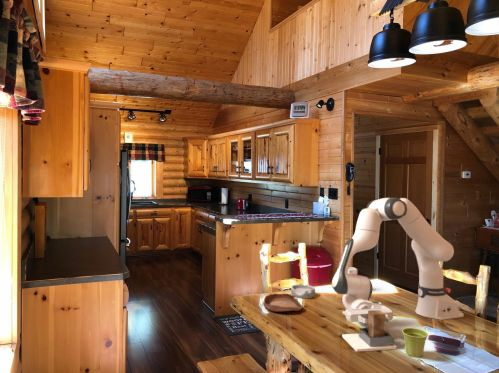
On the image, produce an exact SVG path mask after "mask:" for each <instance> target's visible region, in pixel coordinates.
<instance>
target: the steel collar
mask: <svg viewBox="0 0 499 373" xmlns="http://www.w3.org/2000/svg"><path fill="white" fill-rule="evenodd" d="M358 334H359V337H360V338H361V339H362V340H363V341H364V342H365V343H366V344H368V345H369V346H370V347H376V346H391V345H395V336H394V335H393V334H392V333H391V332H389V331H387V330H386V329H385V336H378V337H371V336H370V335H369V334H368V327H364V328H363V327H362V328H359V329H358Z"/></svg>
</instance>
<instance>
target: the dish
mask: <svg viewBox="0 0 499 373" xmlns="http://www.w3.org/2000/svg"><path fill="white" fill-rule="evenodd" d="M290 293H291V294H290V295H292V296H294V297H295V298H300V299H311V298H313V297H315V294H316V288H315V287H314V286H312V285H309V284H305V285H304V284H293V285H291V287H290Z"/></svg>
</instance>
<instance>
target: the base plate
mask: <svg viewBox="0 0 499 373" xmlns="http://www.w3.org/2000/svg"><path fill="white" fill-rule="evenodd" d="M341 335H342V336H341V337H342V339H344V340H345V341H346V342H347V343H348V344H349V346H350V347H351V348H352V349H353V350H354V351H355V352H357V353H358V352H372V351H373V352H374V351H386V350H388V351H389V350H397V345H396V344H394V345H391V346H376V347H370V346H369V345H368V344H366V343H365V342H364V341H363V340H362V339H361V338H360V337H359V333H345V334H341Z"/></svg>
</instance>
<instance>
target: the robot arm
mask: <svg viewBox="0 0 499 373" xmlns="http://www.w3.org/2000/svg"><path fill="white" fill-rule="evenodd" d="M383 221H384V222H387V221H398V223H399V224H400V226H401V227H402V228H403V230H404V232H405V233H406V234H407V236H408V237H409V238H410V239H412V240H411V245H410V246H411V249H412V251H413V252H414V255H415V258H416V262H417V266H418V271H419V272H418V274H419V275H418V278H419V281H418V286H417V288H418V289H417V295H418V296H417V297H418V298H417V304H416V307H415V312H414V313H416V314H418V315H419V316H422V317H426V318H430V319H436V320H440V321H444V320H451V319H457V318H464V313H463V312H462V311H460V310H459V305H458V303H457V301H456V300H455V299H453V298H452V297H451V296H449V295H448V294H447V293H451V292H452V290H451V288H449V287H445V286H444V271H443V268H442V267H441V266H440V262H448V261H450V260H451V259H452V258H453V256H454V253H455V250H454V246H453V245H452V244H451V243H450V241H447V240H446V239H444V238H443V237H442V236H441V234H440V233H439V232H437V231H436V230H435V229H434V228H433V227H432V226H431V225H430V223H429V222H428V221H427V219H426V218H425V217H424V216H423V214H422V213H421V212H420V210H419V209H418V208H417V207H416V205H415V204H413V202H412V201H411V200H410V199H408V198H405V197H400V198H397V197H383V198H377V199H374V200H373V199H372V200H371V201H370V202H368V204H367V205H366V207H365V208H362V209H361V211H360V212H359V215H358V218H357V221H356V225H355V231H354V234H353V235H352V237H351V238H349V239H348V240H346V243H345V244H344V247H343V250H342V252H341V256H340V259H339V263H338V265H337V268H336V270H335V272H334V275H333V277H332V281H331V286H332V289H333V291H334V292H335V293H336V294H337V295H342V298H341V299H342V300H341V301H342V304H343V307H344V308H345V309H344V310H342V312H341V313H342V315H344V317H345V319H346V320H347V321H348V322H350V323H357V322H358V323H359V322H360V323H363V324H368V311H370V310H380V311H381V312H383V313H384V314H385V323H390V321H391V320H393V319H394V312H393V310H392V309H390V308H389V307H387V306H386V305H383V303H382V302H380V301H373V300H371V297H372V295H373V284H372V282H371V280H370V278H368V277H367V276H364V275H359V274H357V275H353V274H348V269H349V267H350V265H351V262H352V259H353V257H354V255H355V254H356V253H359V252H364V251H368V250H371V249H373V248H374V247H376V246H377V244H378V242H379V239H380V238H379V237H380V230H381V225H382V222H383Z"/></svg>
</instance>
